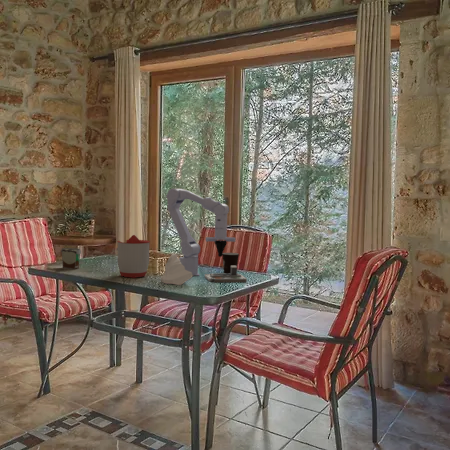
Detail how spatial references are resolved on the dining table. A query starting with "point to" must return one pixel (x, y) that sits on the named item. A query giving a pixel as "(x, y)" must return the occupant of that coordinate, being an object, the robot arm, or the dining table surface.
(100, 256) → the dining table surface
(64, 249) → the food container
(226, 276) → the grey flat slab
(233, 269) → the breaker lever
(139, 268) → the citrus juicer
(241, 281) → the grey square tray
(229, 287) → the dining table surface
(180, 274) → the beige faceted rock
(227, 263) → the coffee mug
